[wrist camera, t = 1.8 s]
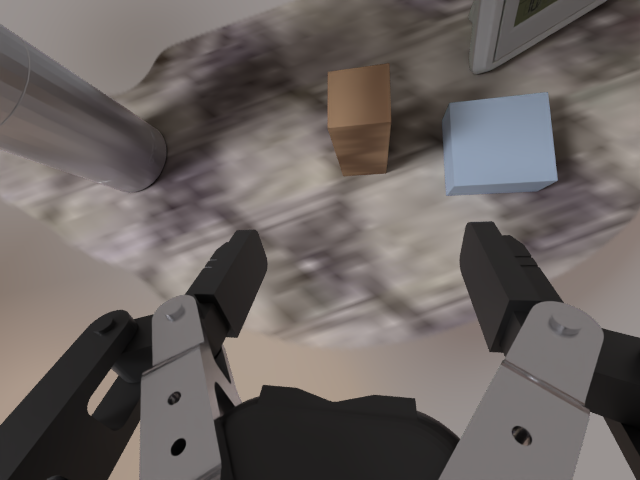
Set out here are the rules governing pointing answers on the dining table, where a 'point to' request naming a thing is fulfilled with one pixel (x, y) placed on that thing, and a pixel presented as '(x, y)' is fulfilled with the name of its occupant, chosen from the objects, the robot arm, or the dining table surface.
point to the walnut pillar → (360, 118)
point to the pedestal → (498, 145)
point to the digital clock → (517, 27)
